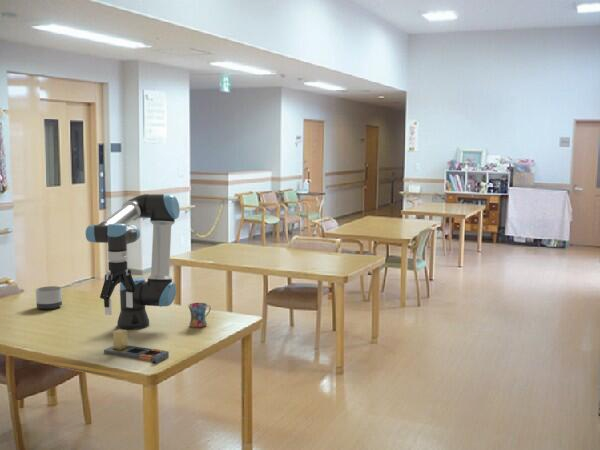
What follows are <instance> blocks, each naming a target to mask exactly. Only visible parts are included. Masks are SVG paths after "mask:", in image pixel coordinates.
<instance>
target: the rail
mask: <svg viewBox="0 0 600 450" xmlns="http://www.w3.org/2000/svg"><path fill="white" fill-rule="evenodd" d="M127 347H128V348H127V349H125V350H123V351H119V350H114V345H112V346H110V347H107V348H105V349H103V354H105V355H112V356H116V357H117V356H119V357H124V358H129V359H130V358H131V359H136V360H139V361H140V360H141V361H147V362H151V364H153V365H157V364H159V363H160V362H163V361H165V360H166V359H168V358H169V357H170V356H169V354H170V353H169V350H168V351H167V350H164V349H163V350H162V349H157V348H147V347H141V346H135V345H128V344H127Z"/></svg>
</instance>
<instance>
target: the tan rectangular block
mask: <svg viewBox="0 0 600 450" xmlns="http://www.w3.org/2000/svg"><path fill="white" fill-rule="evenodd" d="M112 335H113V336H112V337H113V338H112V339H113V346H114V350H119V351H123V350H125V349H127V348H128V347H127V345H128V330H127V329H120V328H118V329H117V330H114V331H112Z"/></svg>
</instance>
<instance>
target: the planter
mask: <svg viewBox="0 0 600 450" xmlns="http://www.w3.org/2000/svg"><path fill="white" fill-rule="evenodd" d="M62 295H63V294H62V287H61V286H56V285H55V286H54V285H53V286H51V285H50V286H41V287H38V288H36V289H35V300H36V301H35V302H36V307H37V308H38V309H41V310H45V309H49V310H54V309H53V308H55V309H57V307H58V308H59V307H61V306H62V305H63V297H62Z"/></svg>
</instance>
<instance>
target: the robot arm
mask: <svg viewBox="0 0 600 450" xmlns="http://www.w3.org/2000/svg"><path fill="white" fill-rule="evenodd" d="M180 211H181V210H180V203H179V200H178V199H177V197H176V196H175V195H173V194H166V193H165V194H159V193H158V194H151V193H149V194H148V193H147V194H145V193H144V194H140V195H137V196H135V197H132V198H131V199H128V200H126V202H124V203H123V204H122V206H121V208H120V209H118V210H117V211H115V212H114V213H113V214H111V215H110V216H108V217H107V218H105V219H104V220H103V221H101V222H100V223H98V224H89V225H88V226H87V227H86V229H85V239H86V240H87V241H88V242H90V243H95V244H96V243H98V244H99V243H100V244H101V243H103V244H107V260H108V263H107V264H108V270H109V272H110V274H105V275H104V280H103V281H104V282H103V285H102V288H101V292H100V296H99V298H100V299H101V300H103V307H104V314H105V315H107V316H112V314H113V313H112V299H111V296H112V294H113V292H114V291H115V288H116V286H117V285H118V284H119V301H120V302H119V303H120V312H119V316H118V318H117V321H116V322H117V325H116V326H117V328H118V329H121V330H127V331H129V330H139V329H144V328H147V327H149V326H150V319H149V316H148V314H147V310H146V306H149V307H150V306H151V307H169V306H171V305H172V303H174V300H175V298H176V294H177V285H176V283H175V282H174V281H173V278H172V276H170V264H171V239H172V238H171V237H172V226H173V225H174V224H175V221H176V219H178V218H179V217H180ZM138 219H149V220H150V221H149V222H150V223H151V224H152V229H153V230H152V244H151V245H152V248H151V266H150V267H151V268H150V271H151V272H150V275H149V276H147V281H146V280H145V278H144V277H133V275H132V271H131V269H128V261H127V260H128V252H127V250H128V249H127V247H128V245H129V244H133V243H134V242H136V241H138V240H139V239H140V236H141V231H140V229H139V227H137V226H136V225H134V224H129V223H131V222H132V221H137V220H138Z"/></svg>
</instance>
